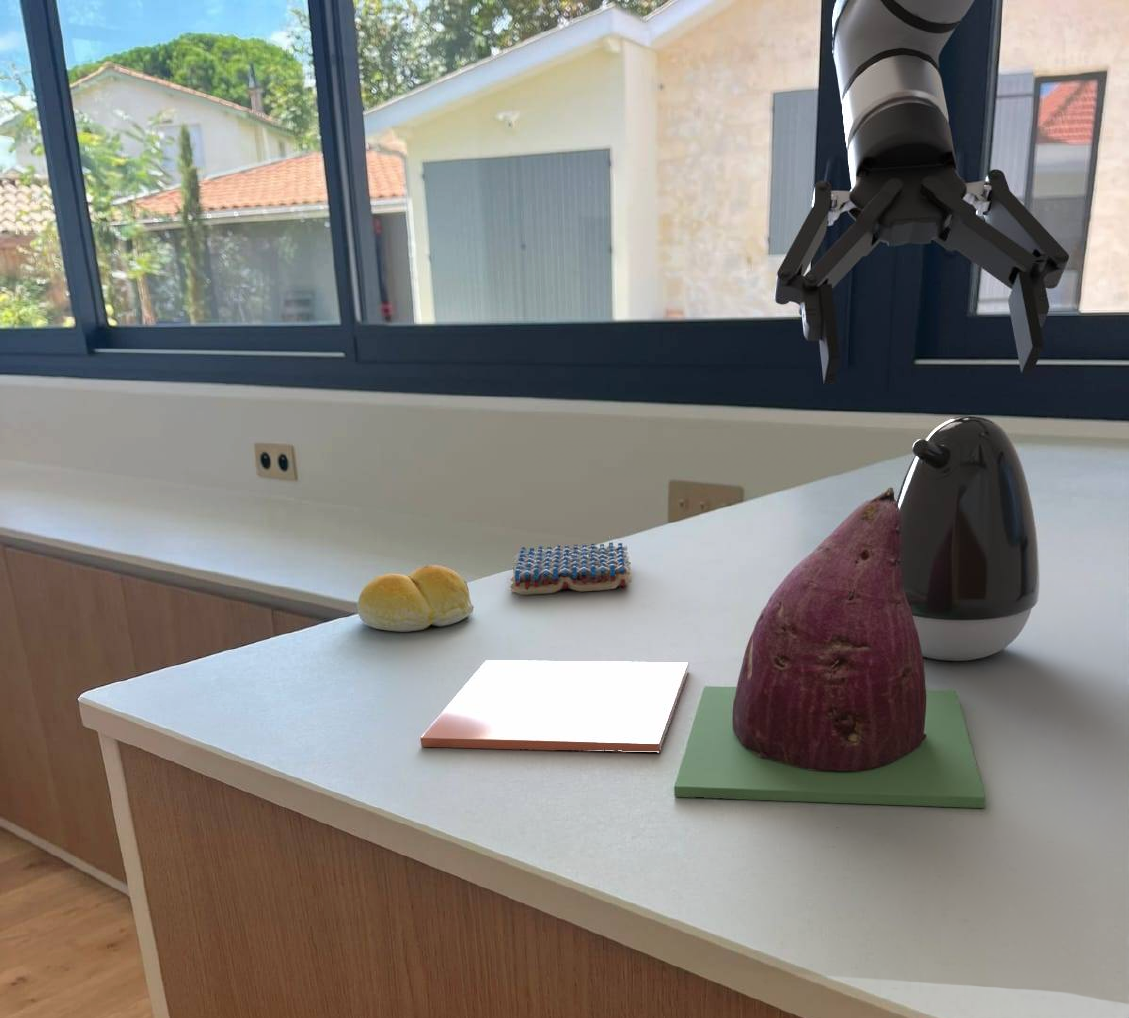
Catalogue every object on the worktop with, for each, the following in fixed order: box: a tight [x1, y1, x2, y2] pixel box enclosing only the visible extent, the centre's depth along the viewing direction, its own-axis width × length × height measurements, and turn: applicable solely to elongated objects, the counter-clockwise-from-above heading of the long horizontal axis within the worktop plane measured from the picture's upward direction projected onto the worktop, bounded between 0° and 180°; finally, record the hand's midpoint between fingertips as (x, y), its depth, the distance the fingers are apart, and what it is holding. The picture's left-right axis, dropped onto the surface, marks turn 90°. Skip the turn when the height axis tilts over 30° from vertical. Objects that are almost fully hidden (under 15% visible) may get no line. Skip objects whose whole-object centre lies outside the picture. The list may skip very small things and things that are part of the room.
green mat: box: [673, 685, 986, 809], centre depth 64 cm, size 15×15×1 cm
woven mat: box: [508, 542, 633, 596], centre depth 100 cm, size 10×11×2 cm
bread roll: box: [356, 564, 475, 633], centre depth 91 cm, size 8×9×4 cm
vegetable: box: [732, 487, 927, 772], centre depth 61 cm, size 10×10×15 cm
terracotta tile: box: [419, 660, 690, 752], centre depth 71 cm, size 14×14×1 cm
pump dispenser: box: [895, 414, 1041, 662], centre depth 74 cm, size 10×10×15 cm
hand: (931, 366), depth 79 cm, fingers open, 13 cm apart
